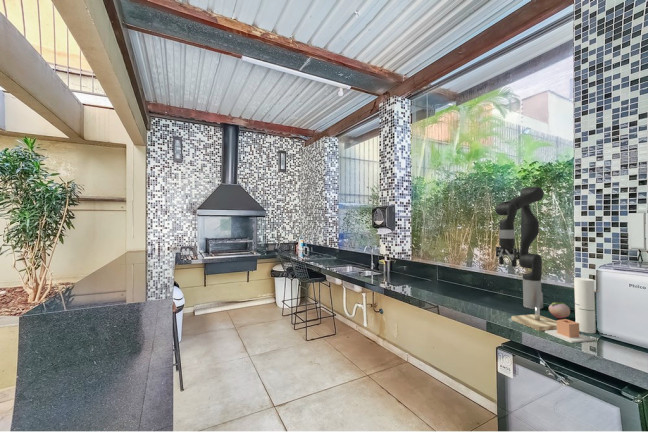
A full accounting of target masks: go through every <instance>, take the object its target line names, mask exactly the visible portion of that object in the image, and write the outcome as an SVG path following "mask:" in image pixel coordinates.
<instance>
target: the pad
mask: <svg viewBox="0 0 648 432" xmlns="http://www.w3.org/2000/svg"><path fill="white" fill-rule="evenodd" d="M544 333H546V334H547V335H551V336H553V337H555V338H558V339H561V340H563V341H566V342H567V343H569V344H570V343H571V344H574V343H585V342H593V341H594V338H593V337H590V336H587V335H584V334H580V333H579V335H580V337H571V338H569V337H567V336H564V335H561V334H559V333H557V329H556V330H546V331H544Z"/></svg>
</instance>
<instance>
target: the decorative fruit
mask: <svg viewBox="0 0 648 432" xmlns="http://www.w3.org/2000/svg"><path fill="white" fill-rule="evenodd" d="M548 311H549V313H550V314H551V315H552V316H553V317H555V318H556V319H557V320H563V319H566V318H567V317H570V314H571V309H570V307H569V306H568V305H567V303H565V302H561V301H558V302H552V303H551V304H550V305H549V306H548Z"/></svg>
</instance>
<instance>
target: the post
mask: <svg viewBox="0 0 648 432" xmlns="http://www.w3.org/2000/svg"><path fill="white" fill-rule="evenodd" d="M534 314H535V320H537V321H540V316H541V309H540V308H539V307H535V309H534Z"/></svg>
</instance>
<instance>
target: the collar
mask: <svg viewBox="0 0 648 432" xmlns="http://www.w3.org/2000/svg"><path fill="white" fill-rule="evenodd" d="M556 321H557V329H556V330H557V333H559V334H561V335H564V336H567V337H569V338H571V337H580V335H579V334H580V331H579V323H577V322H575V321H573V320H570V319H567V318H562V319H557V320H556Z"/></svg>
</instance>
